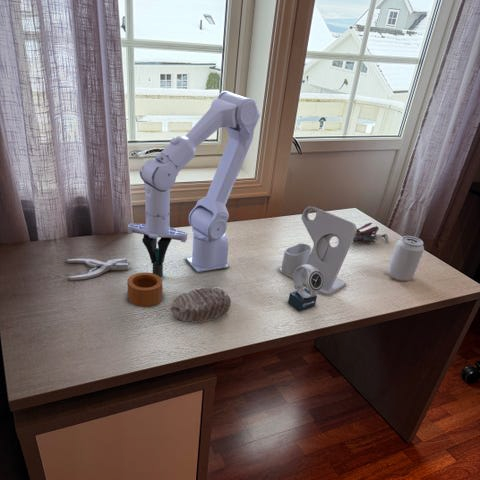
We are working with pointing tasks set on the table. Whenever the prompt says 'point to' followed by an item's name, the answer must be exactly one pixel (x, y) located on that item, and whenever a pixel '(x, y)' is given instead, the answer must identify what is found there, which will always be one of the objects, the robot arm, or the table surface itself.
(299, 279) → the watch
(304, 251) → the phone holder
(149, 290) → the orange flowerpot
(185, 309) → the seashell
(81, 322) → the table surface
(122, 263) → the pliers
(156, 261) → the brush
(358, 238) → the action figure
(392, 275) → the can
